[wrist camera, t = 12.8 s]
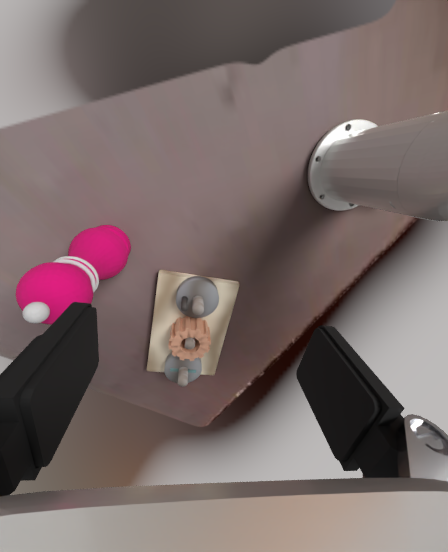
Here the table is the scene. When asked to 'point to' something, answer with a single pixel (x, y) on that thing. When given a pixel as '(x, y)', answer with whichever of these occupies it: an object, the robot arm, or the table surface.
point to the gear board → (173, 313)
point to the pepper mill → (72, 274)
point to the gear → (189, 329)
